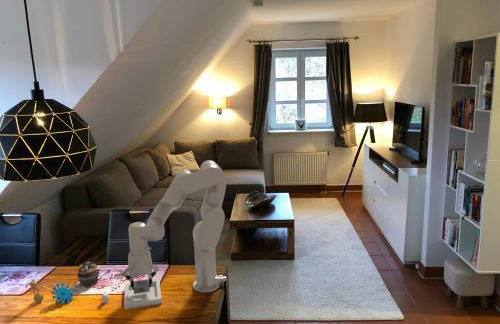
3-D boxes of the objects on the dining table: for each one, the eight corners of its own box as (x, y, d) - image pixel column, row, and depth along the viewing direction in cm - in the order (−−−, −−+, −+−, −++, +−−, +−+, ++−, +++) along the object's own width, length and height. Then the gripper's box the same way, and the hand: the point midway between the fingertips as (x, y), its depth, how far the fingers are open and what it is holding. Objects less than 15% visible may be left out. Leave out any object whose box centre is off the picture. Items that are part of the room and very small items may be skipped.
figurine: (50, 299, 180) (47, 274, 177) (43, 307, 174) (39, 281, 171) (33, 298, 180) (29, 274, 178) (24, 306, 174) (20, 281, 172)
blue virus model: (59, 306, 171) (48, 286, 174) (53, 312, 174) (42, 293, 176) (80, 296, 181) (70, 278, 184) (74, 303, 184) (63, 284, 186)
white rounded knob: (109, 299, 179) (108, 291, 178) (108, 303, 176) (108, 295, 175) (102, 300, 178) (101, 292, 177) (102, 304, 175) (101, 296, 174)
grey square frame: (149, 284, 184) (149, 279, 184) (150, 293, 176) (149, 288, 176) (134, 286, 183) (133, 281, 182) (134, 295, 175) (133, 290, 174)
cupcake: (73, 285, 191) (71, 266, 189) (88, 276, 200) (86, 257, 197) (89, 289, 187) (86, 270, 185) (104, 279, 196) (101, 260, 194)
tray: (159, 283, 191) (159, 278, 191) (161, 303, 175) (161, 298, 174) (125, 288, 187) (125, 283, 187) (124, 309, 171) (124, 304, 170)
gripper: (158, 244, 182) (160, 280, 186) (118, 249, 177) (121, 285, 181) (159, 251, 175) (161, 288, 179) (118, 256, 170) (121, 294, 174)
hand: (141, 286), depth 180 cm, fingers closed on grey square frame, 6 cm apart
